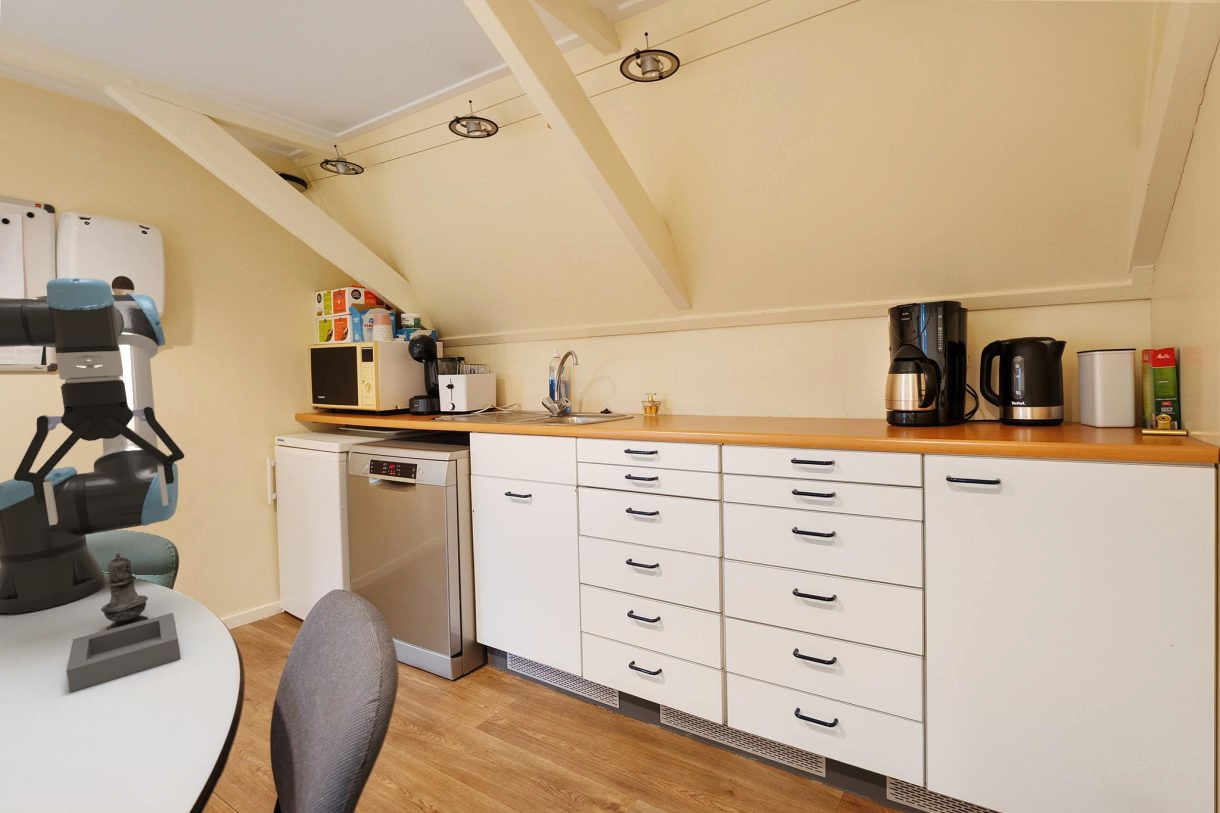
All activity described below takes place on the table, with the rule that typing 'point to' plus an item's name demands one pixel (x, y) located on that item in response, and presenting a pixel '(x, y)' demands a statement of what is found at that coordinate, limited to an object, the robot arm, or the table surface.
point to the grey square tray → (122, 651)
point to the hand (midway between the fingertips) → (112, 513)
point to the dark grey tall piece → (123, 595)
